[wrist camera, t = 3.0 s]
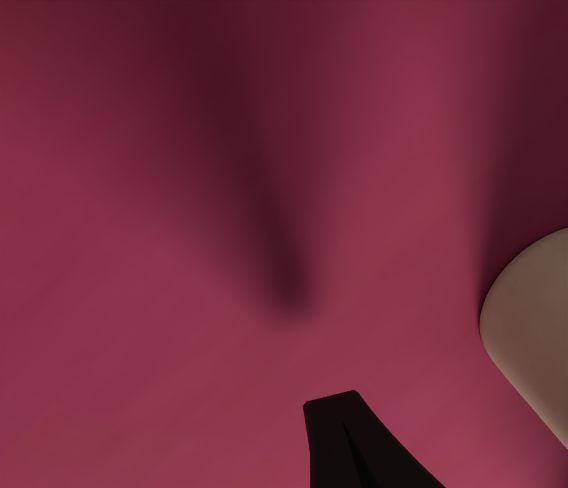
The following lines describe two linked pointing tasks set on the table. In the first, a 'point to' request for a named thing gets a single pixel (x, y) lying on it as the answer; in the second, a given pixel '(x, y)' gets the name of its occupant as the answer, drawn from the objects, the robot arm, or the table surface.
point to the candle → (533, 328)
